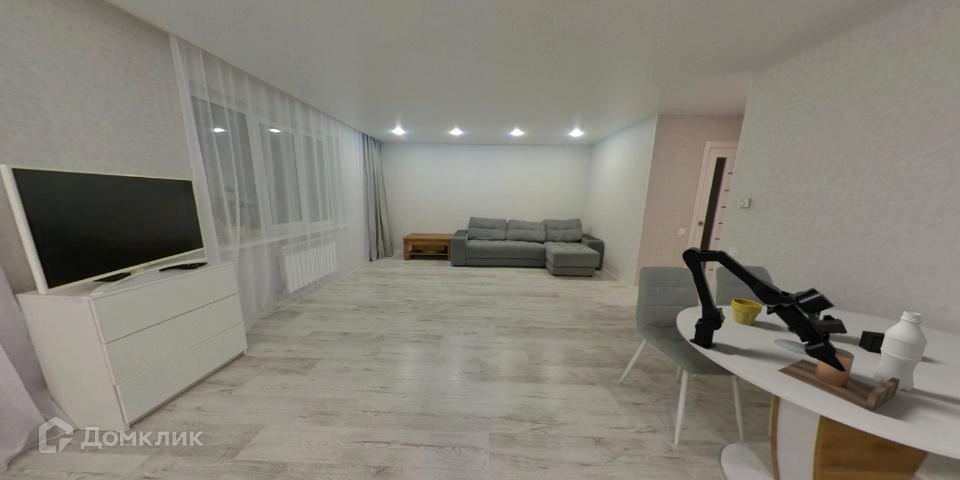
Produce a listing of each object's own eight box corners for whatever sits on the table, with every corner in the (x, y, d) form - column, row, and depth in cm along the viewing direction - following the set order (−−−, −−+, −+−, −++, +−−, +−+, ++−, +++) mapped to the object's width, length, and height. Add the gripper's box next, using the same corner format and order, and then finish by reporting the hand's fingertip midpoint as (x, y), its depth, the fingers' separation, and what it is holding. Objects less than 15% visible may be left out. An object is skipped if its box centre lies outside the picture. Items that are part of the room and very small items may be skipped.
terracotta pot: (841, 389, 85) (849, 358, 83) (810, 376, 91) (817, 347, 89) (850, 384, 87) (858, 354, 86) (819, 372, 93) (826, 343, 91)
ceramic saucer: (810, 361, 101) (811, 358, 101) (766, 344, 112) (767, 342, 112) (825, 354, 106) (826, 352, 105) (782, 339, 117) (782, 336, 116)
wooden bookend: (871, 415, 77) (876, 395, 76) (776, 373, 94) (780, 357, 93) (894, 397, 83) (900, 379, 82) (802, 361, 101) (806, 346, 100)
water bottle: (864, 379, 91) (884, 308, 87) (883, 379, 92) (904, 307, 88) (898, 395, 84) (922, 318, 80) (918, 394, 85) (943, 318, 81)
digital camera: (871, 353, 107) (876, 336, 106) (858, 346, 112) (862, 330, 111) (910, 359, 104) (915, 341, 103) (894, 351, 109) (899, 334, 108)
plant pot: (764, 328, 126) (768, 308, 124) (738, 325, 128) (741, 305, 126) (747, 318, 136) (751, 299, 134) (723, 316, 138) (726, 297, 136)
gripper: (831, 318, 82) (886, 369, 76) (822, 301, 94) (868, 344, 89) (786, 333, 88) (833, 381, 83) (783, 315, 101) (824, 356, 95)
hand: (841, 364), depth 87 cm, fingers open, 9 cm apart
